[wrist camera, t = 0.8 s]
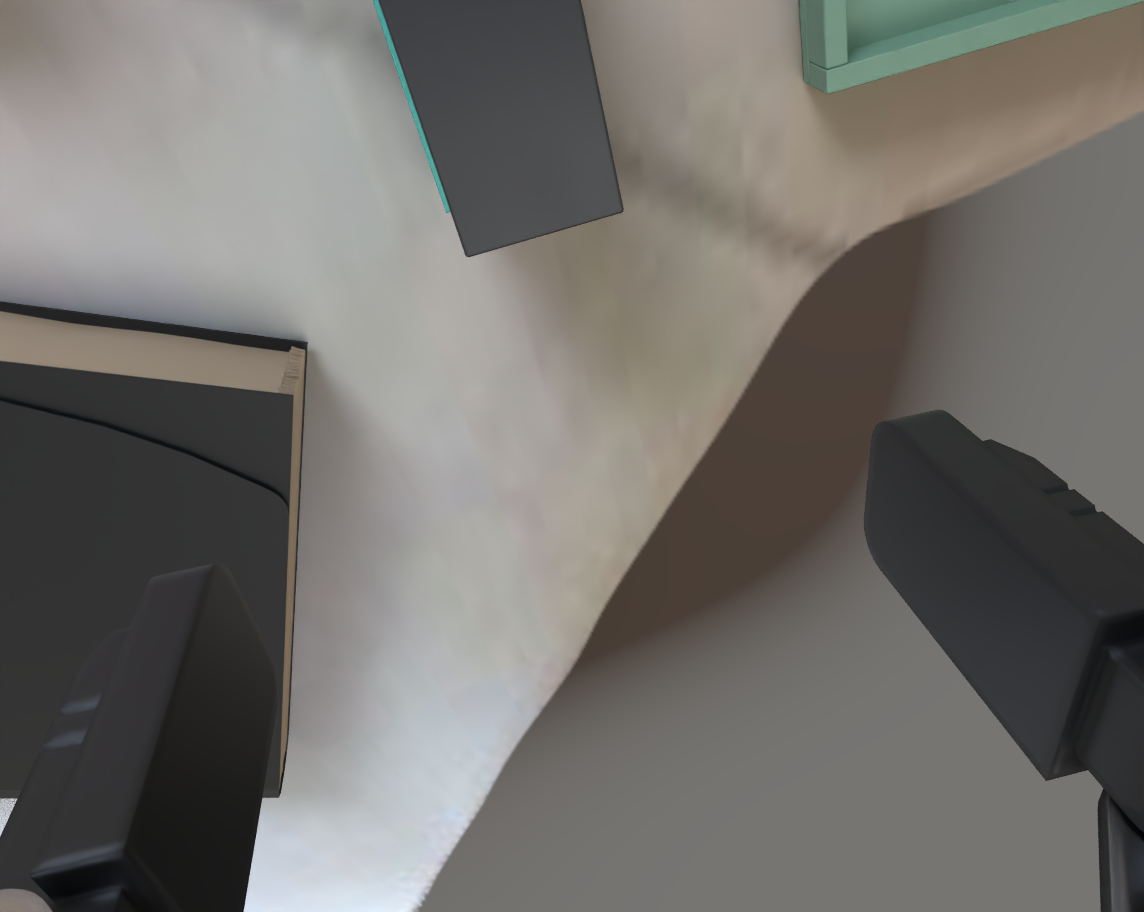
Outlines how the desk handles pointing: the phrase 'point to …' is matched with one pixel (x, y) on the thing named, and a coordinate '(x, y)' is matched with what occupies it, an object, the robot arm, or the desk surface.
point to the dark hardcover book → (136, 494)
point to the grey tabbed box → (505, 114)
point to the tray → (919, 32)
